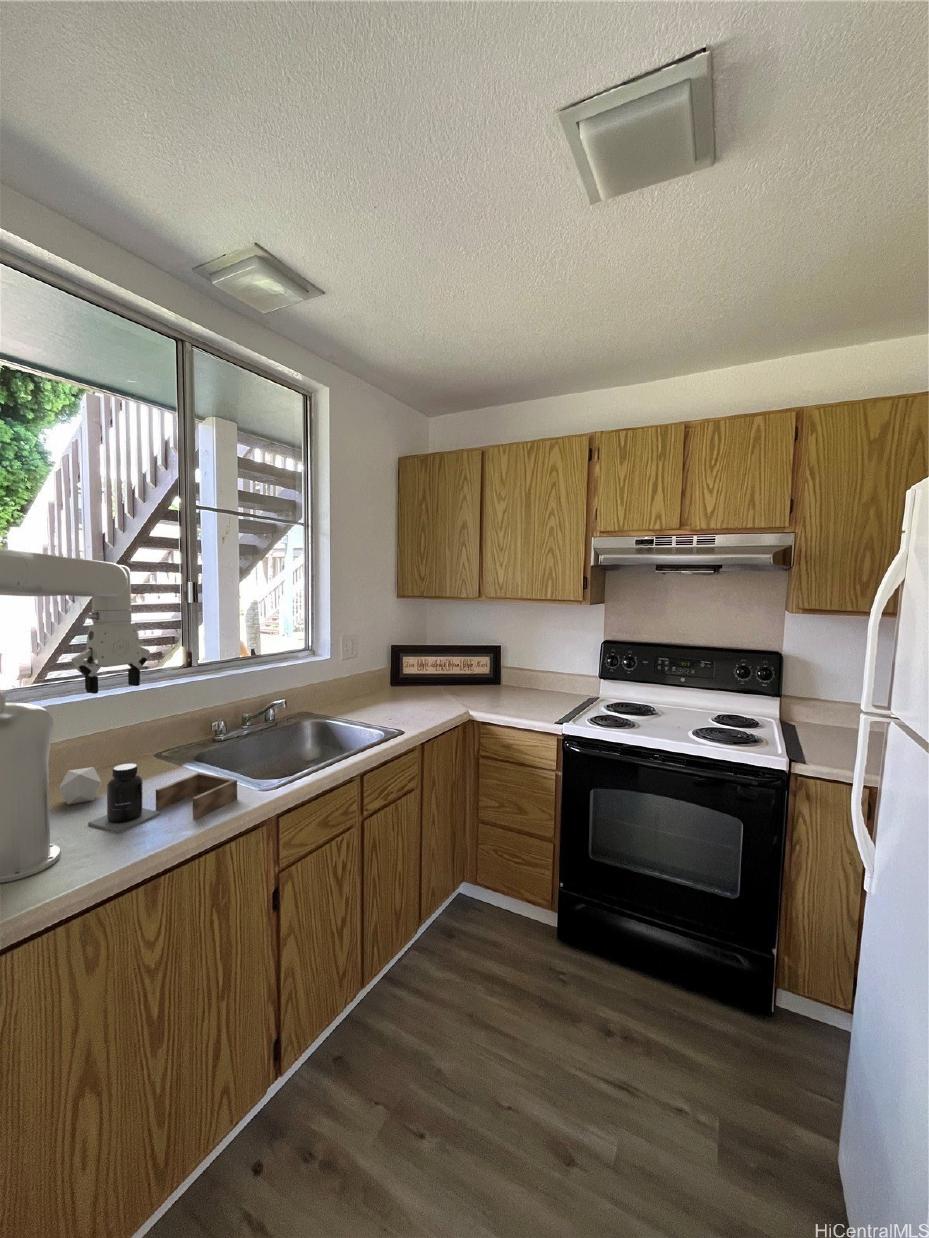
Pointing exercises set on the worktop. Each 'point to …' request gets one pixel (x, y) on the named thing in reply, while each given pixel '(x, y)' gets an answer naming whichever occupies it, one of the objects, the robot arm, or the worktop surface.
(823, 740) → the worktop surface
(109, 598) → the robot arm
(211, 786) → the cubby
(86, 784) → the die
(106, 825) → the pad
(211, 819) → the worktop surface
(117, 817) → the supplement bottle
